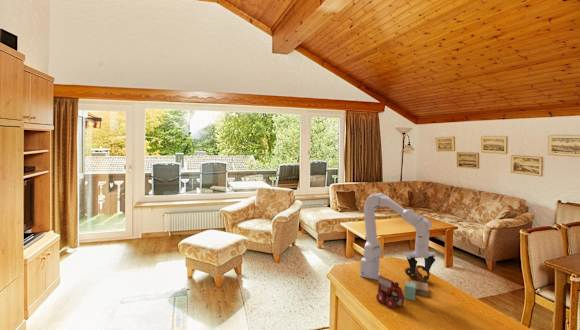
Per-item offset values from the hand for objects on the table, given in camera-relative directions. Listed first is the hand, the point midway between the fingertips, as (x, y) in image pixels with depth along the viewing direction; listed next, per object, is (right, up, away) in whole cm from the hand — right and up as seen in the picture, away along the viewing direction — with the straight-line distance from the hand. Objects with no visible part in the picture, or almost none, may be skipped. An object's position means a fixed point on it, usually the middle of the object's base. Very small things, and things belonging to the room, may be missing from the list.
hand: (419, 272), depth 145 cm
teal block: (-6, -10, -4) cm, 13 cm away
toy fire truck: (-17, -11, -9) cm, 22 cm away
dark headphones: (+4, -9, +15) cm, 18 cm away
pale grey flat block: (+1, -10, +3) cm, 11 cm away
